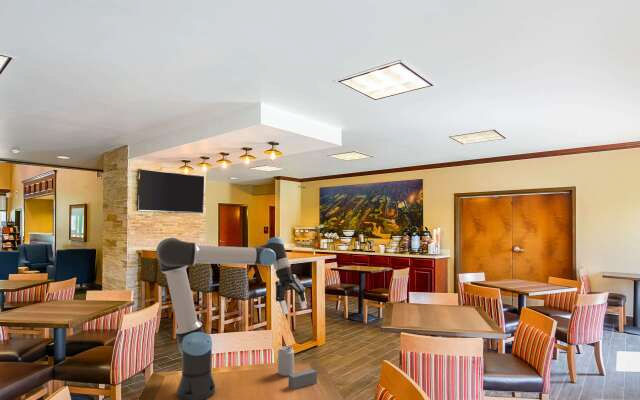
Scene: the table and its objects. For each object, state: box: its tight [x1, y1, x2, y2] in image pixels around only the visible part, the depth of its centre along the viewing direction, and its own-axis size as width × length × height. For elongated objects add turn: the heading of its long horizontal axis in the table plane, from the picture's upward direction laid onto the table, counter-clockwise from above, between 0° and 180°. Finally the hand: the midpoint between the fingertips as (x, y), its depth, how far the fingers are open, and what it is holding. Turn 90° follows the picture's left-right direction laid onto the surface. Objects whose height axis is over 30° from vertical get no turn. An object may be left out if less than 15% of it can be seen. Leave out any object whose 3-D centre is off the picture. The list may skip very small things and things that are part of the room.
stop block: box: [288, 368, 318, 390], centre depth 173 cm, size 12×4×5 cm, turn 124°
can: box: [277, 345, 295, 377], centre depth 185 cm, size 8×8×12 cm
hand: (295, 311), depth 189 cm, fingers open, 13 cm apart
